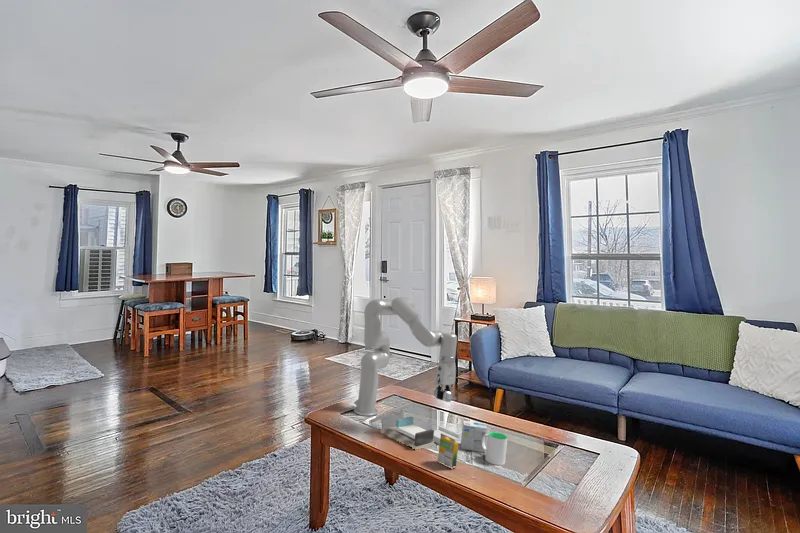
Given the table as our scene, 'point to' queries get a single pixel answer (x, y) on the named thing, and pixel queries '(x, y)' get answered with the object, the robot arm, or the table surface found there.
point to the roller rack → (446, 432)
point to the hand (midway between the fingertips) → (443, 398)
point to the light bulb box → (473, 436)
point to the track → (420, 441)
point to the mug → (495, 447)
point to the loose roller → (445, 395)
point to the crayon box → (448, 451)
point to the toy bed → (408, 427)
